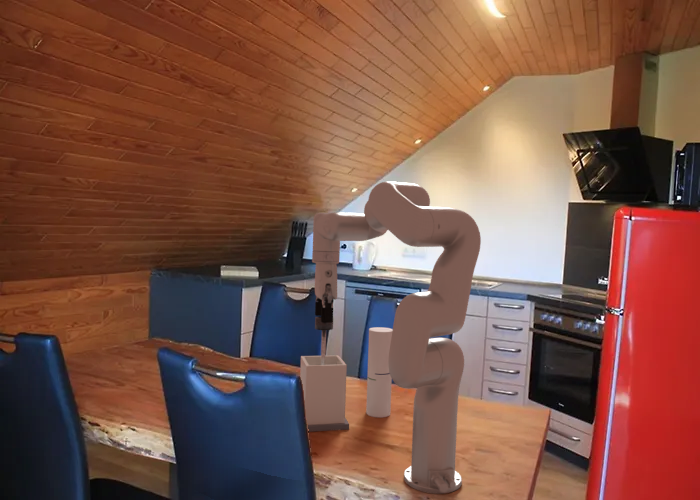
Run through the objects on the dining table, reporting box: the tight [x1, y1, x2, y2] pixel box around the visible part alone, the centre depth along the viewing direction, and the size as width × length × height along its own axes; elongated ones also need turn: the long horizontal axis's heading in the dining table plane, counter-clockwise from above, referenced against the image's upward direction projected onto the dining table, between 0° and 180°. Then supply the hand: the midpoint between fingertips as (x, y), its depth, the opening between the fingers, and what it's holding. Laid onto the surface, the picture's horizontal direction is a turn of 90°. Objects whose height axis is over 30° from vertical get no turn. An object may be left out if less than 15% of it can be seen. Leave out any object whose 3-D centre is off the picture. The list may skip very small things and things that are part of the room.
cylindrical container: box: [365, 326, 393, 418], centre depth 166 cm, size 7×7×25 cm
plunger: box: [314, 316, 334, 365], centre depth 157 cm, size 9×9×22 cm
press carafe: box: [299, 354, 350, 432], centre depth 158 cm, size 13×13×18 cm
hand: (323, 318), depth 157 cm, fingers open, 9 cm apart
